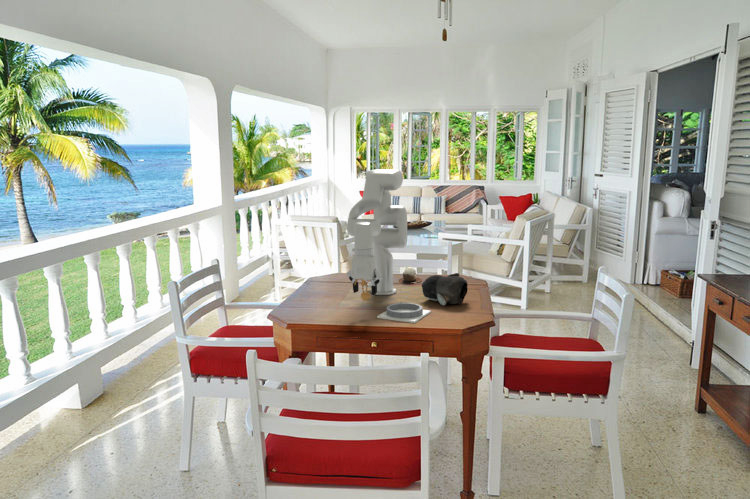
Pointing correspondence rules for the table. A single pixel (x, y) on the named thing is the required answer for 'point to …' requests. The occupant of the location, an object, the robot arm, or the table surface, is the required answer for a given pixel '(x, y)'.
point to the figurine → (365, 294)
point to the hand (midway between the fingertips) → (364, 293)
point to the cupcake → (409, 276)
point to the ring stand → (404, 312)
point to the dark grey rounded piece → (445, 289)
